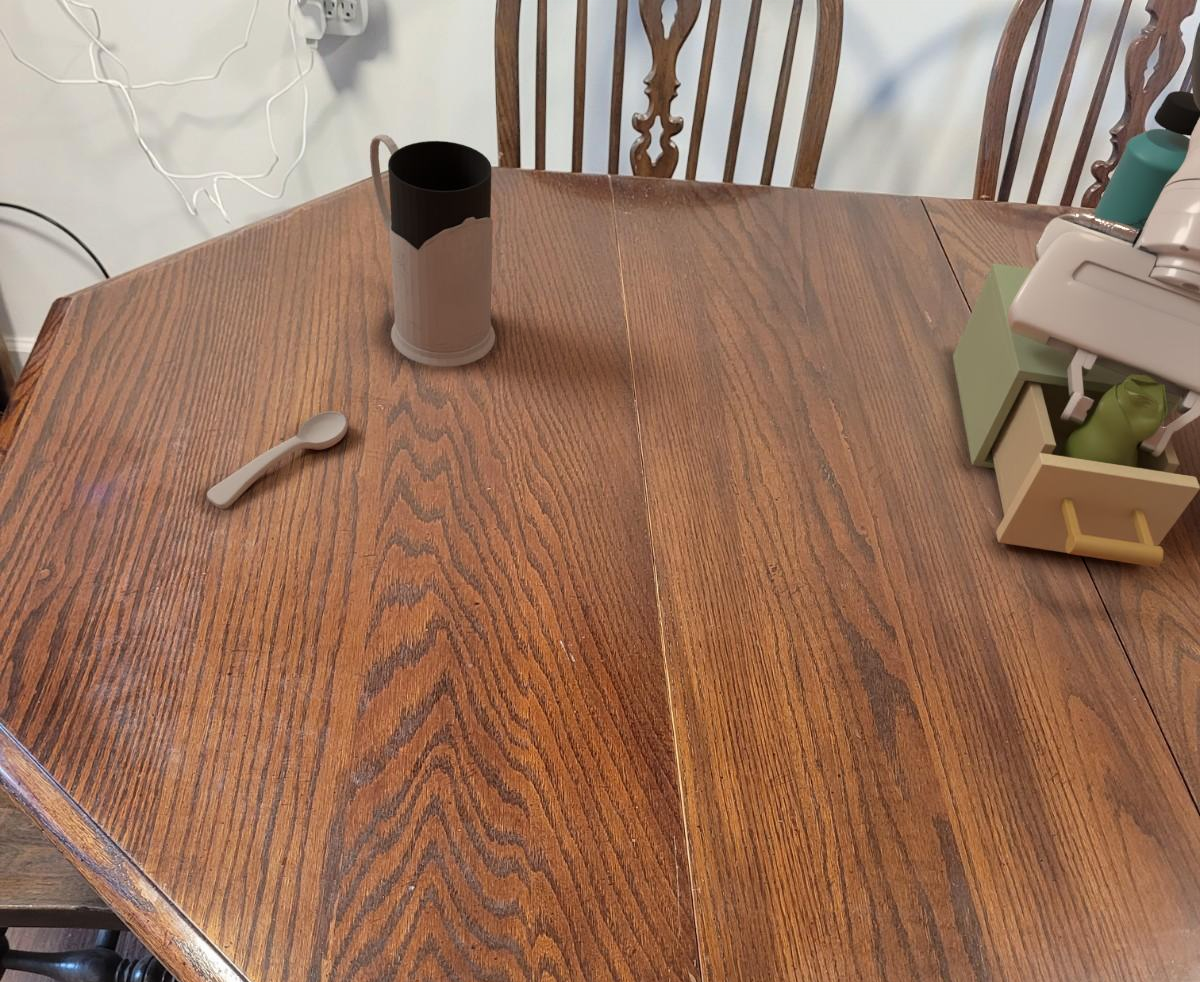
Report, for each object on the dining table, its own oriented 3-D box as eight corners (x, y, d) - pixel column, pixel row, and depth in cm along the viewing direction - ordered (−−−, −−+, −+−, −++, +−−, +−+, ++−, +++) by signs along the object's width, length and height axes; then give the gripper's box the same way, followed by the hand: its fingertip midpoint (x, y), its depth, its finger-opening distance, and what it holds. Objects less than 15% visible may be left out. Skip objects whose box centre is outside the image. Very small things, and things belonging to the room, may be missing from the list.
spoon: (359, 435, 78) (355, 416, 77) (230, 524, 73) (223, 505, 71) (332, 417, 80) (327, 397, 78) (203, 503, 74) (196, 483, 72)
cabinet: (1120, 490, 83) (1183, 395, 76) (970, 467, 83) (1019, 370, 76) (1085, 379, 93) (1138, 284, 86) (951, 358, 93) (993, 262, 86)
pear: (1047, 457, 80) (1110, 349, 72) (1117, 478, 79) (1188, 372, 72) (1043, 503, 76) (1109, 396, 69) (1115, 526, 76) (1190, 420, 68)
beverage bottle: (1045, 316, 99) (1150, 103, 84) (1052, 281, 103) (1153, 73, 88) (1114, 336, 98) (1233, 125, 83) (1118, 301, 102) (1233, 94, 87)
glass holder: (427, 382, 84) (421, 208, 72) (337, 294, 90) (319, 121, 79) (516, 348, 88) (524, 177, 76) (424, 265, 94) (418, 97, 83)
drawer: (1159, 615, 74) (1220, 539, 68) (1006, 592, 74) (1054, 514, 68) (1107, 445, 86) (1154, 368, 80) (975, 425, 86) (1013, 346, 80)
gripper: (1063, 184, 72) (970, 371, 73) (1379, 291, 66) (1271, 490, 68) (1052, 217, 78) (966, 389, 79) (1341, 318, 72) (1242, 500, 74)
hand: (1109, 437), depth 73 cm, fingers closed on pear, 4 cm apart
